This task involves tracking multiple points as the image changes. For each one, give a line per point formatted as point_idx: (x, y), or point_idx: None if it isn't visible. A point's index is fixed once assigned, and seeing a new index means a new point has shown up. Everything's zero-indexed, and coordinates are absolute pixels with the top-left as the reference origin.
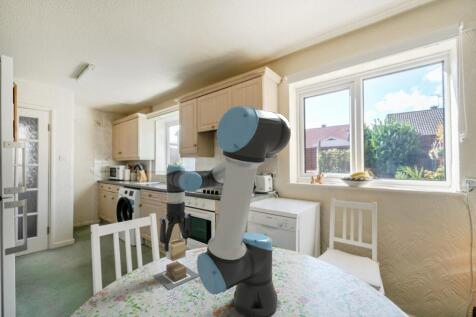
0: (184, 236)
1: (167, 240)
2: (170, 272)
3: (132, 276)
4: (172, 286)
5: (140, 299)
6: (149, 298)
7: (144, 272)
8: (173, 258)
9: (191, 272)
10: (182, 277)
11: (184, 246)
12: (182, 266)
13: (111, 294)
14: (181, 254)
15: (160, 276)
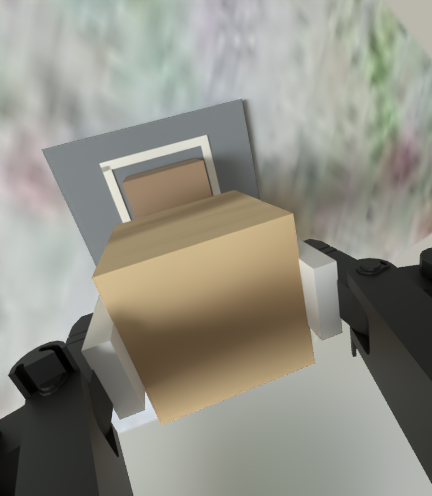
0: (84, 391)
1: (402, 281)
2: None
3: None
4: (218, 115)
5: (353, 106)
6: (324, 89)
7: None
8: (233, 194)
9: (86, 209)
10: (151, 170)
11: (117, 252)
12: (145, 206)
13: (415, 206)
14: (156, 220)
15: None
